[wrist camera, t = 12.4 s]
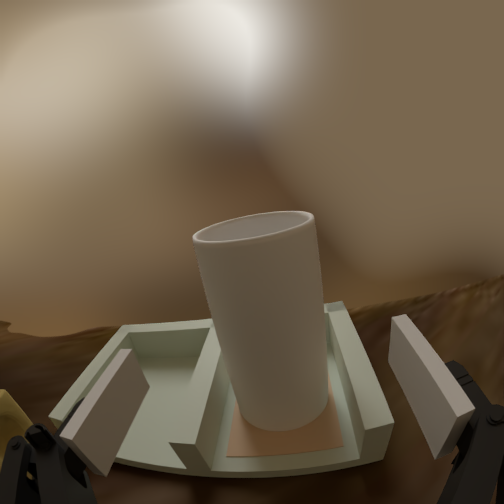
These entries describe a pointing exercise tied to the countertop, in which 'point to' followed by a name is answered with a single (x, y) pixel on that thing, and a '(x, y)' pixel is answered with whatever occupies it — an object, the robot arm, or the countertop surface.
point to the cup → (268, 314)
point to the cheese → (11, 423)
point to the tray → (227, 410)
